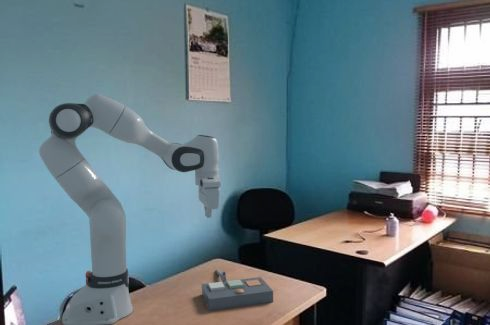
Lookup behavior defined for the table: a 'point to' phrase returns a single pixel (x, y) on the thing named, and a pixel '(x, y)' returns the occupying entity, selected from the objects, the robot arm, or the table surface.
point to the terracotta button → (253, 283)
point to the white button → (216, 286)
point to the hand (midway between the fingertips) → (208, 216)
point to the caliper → (221, 275)
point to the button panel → (237, 295)
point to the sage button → (235, 284)
